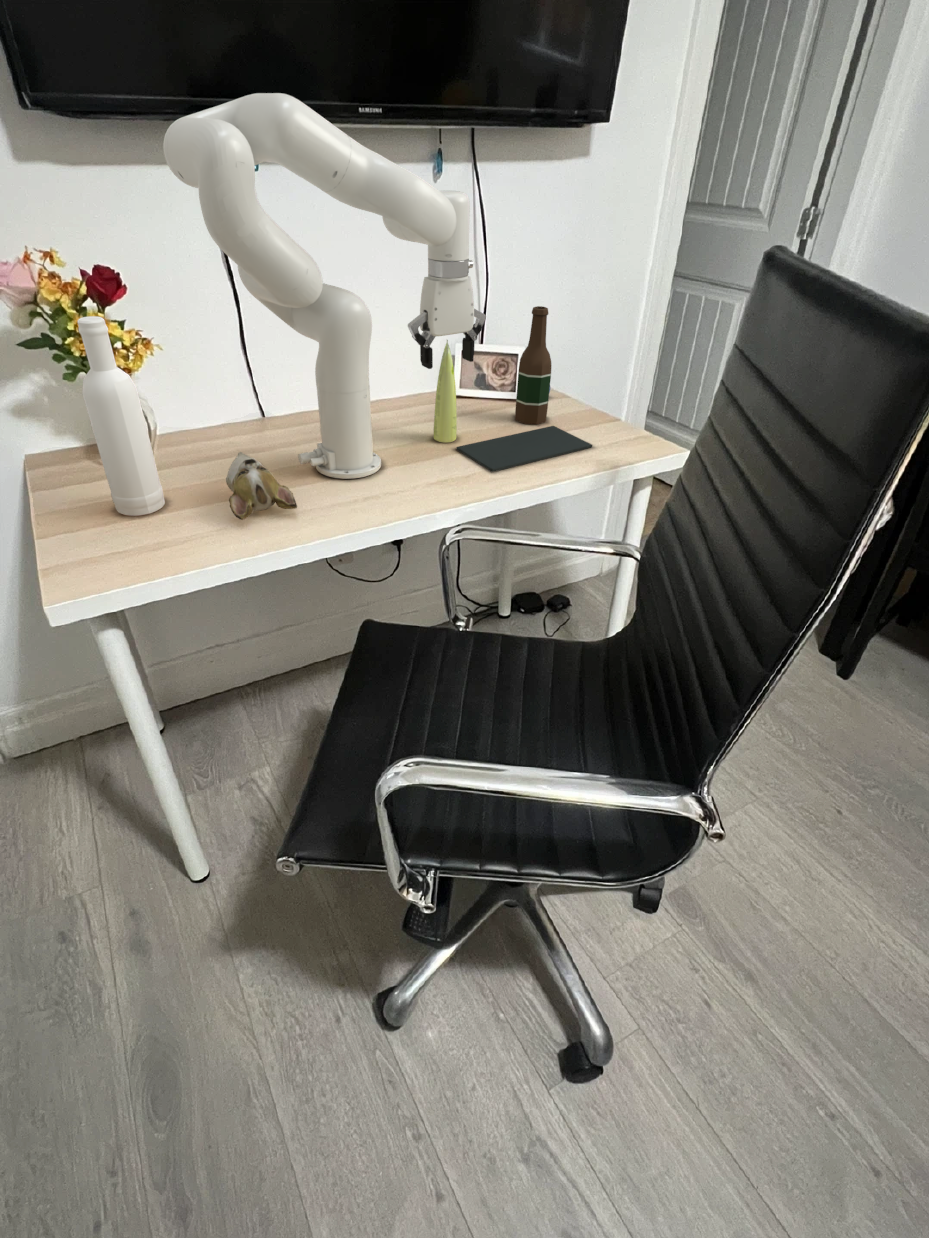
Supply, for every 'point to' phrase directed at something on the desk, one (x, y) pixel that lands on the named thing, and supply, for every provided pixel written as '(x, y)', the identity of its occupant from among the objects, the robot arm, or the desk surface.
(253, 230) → the robot arm
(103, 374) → the bottle
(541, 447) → the mat
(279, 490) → the ceramic sculpture
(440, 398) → the tube
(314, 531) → the desk surface
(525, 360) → the beer bottle
